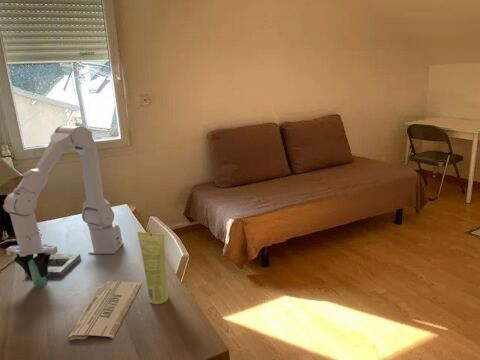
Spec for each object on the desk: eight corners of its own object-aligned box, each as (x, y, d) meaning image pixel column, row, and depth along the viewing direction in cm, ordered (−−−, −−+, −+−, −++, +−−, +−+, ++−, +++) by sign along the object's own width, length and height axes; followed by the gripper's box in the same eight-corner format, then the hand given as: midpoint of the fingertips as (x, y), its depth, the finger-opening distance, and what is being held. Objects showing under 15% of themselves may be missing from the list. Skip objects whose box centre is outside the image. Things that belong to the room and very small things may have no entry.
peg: (49, 281, 108) (43, 257, 106) (42, 287, 105) (35, 263, 102) (39, 280, 108) (33, 257, 106) (31, 287, 105) (25, 263, 103)
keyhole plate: (81, 259, 120) (79, 254, 119) (61, 277, 109) (60, 272, 109) (48, 259, 121) (46, 253, 121) (25, 277, 111) (24, 271, 110)
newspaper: (100, 287, 104) (99, 280, 103) (141, 290, 104) (141, 282, 103) (59, 345, 82) (58, 336, 81) (112, 348, 82) (111, 339, 81)
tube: (168, 291, 99) (159, 226, 93) (173, 300, 95) (164, 233, 89) (147, 297, 97) (137, 231, 91) (151, 307, 92) (141, 239, 87)
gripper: (-7, 240, 99) (6, 282, 103) (41, 240, 97) (52, 283, 101) (12, 229, 106) (23, 269, 110) (57, 228, 104) (67, 270, 108)
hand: (38, 275), depth 106 cm, fingers closed on peg, 3 cm apart
